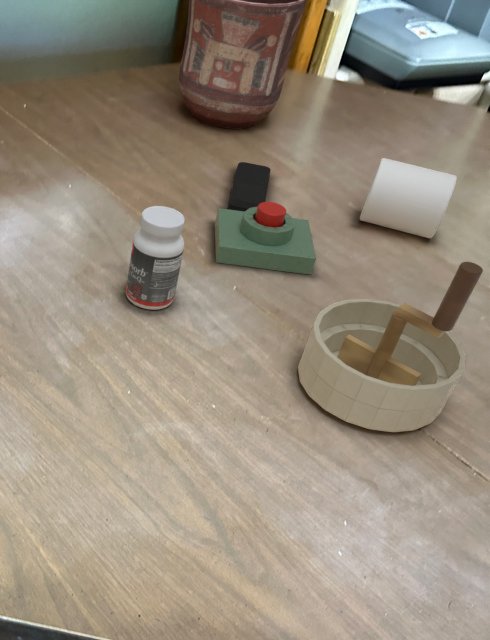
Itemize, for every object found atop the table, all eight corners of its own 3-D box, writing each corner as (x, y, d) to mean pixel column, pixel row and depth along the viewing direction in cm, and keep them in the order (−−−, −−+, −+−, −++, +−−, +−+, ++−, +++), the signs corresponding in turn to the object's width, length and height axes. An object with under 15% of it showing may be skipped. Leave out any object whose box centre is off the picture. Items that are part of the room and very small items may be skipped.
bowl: (424, 355, 87) (447, 308, 83) (453, 445, 77) (481, 398, 73) (291, 337, 87) (307, 290, 83) (303, 425, 77) (322, 377, 73)
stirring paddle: (332, 362, 82) (385, 232, 71) (342, 355, 83) (395, 225, 72) (408, 406, 79) (477, 276, 67) (418, 398, 80) (486, 268, 68)
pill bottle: (117, 287, 91) (128, 205, 83) (161, 281, 92) (175, 200, 85) (137, 314, 87) (150, 231, 80) (181, 308, 89) (198, 226, 82)
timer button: (281, 216, 98) (285, 203, 97) (283, 230, 96) (287, 217, 94) (253, 213, 98) (257, 199, 97) (255, 227, 96) (258, 213, 94)
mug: (428, 249, 104) (455, 190, 98) (355, 229, 105) (377, 170, 99) (435, 211, 111) (461, 155, 105) (367, 194, 113) (388, 137, 107)
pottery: (159, 92, 132) (178, -35, 118) (255, 95, 135) (284, -29, 121) (186, 137, 121) (210, 2, 107) (290, 138, 124) (327, 7, 110)
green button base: (303, 235, 103) (312, 206, 100) (310, 274, 96) (320, 245, 93) (214, 223, 103) (221, 194, 100) (215, 262, 96) (222, 232, 93)
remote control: (235, 172, 115) (225, 214, 105) (238, 160, 114) (229, 201, 103) (268, 179, 115) (261, 221, 104) (271, 166, 113) (265, 208, 103)
